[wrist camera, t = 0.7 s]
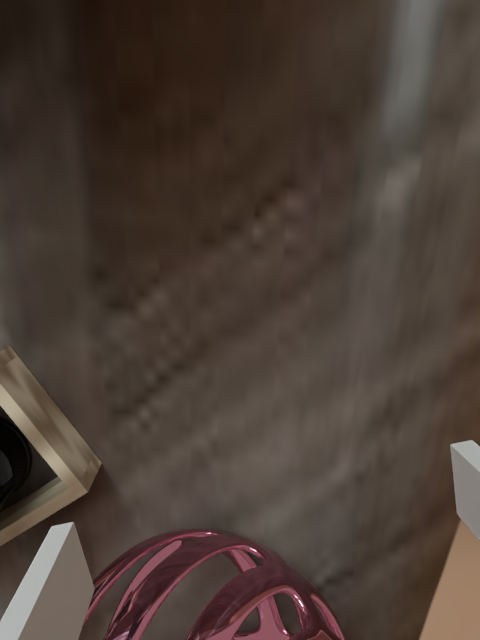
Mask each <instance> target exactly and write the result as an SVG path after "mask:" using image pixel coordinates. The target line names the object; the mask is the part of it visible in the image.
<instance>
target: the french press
mask: <svg viewBox="0 0 480 640" xmlns="http://www.w3.org/2000/svg"><path fill="white" fill-rule="evenodd" d="M0 449H1V450H2V451H3V452H4V454H5V455H6V457H7V458H8V460H9V463H10V465H11V468H12V474H13V476H12V478H11V479H10V480H9V481H8V482H7V483H6V484H4V485H3V486H1V487H0V510H1V509H2V508H3V507H4V505H5V504H6V503H7V501H8V500H9V499H10V497H11V496H12V495H13V494H14V493H15V492H16V491H18V489H19V488H20V487H21V486H22V485H23V484H24V482H25V481H26V479H27V477H28V475H29V472H30V469H31V460H32V458H31V451H30V448H29V445H28V442H27V440H26V439H25V437H24V436H23V434H22V433H21V432H20V431H19V430H18V429H17V427H15V426H14V425H13V424H11V423H10V422H9V421H7V420H5V419H3V418H1V417H0Z"/></svg>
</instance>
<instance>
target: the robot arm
mask: <svg viewBox="0 0 480 640" xmlns="http://www.w3.org/2000/svg"><path fill="white" fill-rule="evenodd" d="M450 447H451V457H452V467H453V478H454V488H455V498H456V508H457V514H458V516H459V517H460V518H461V519H462V520H463V522H464V523H465V524H466V525H467V526H468V528H469V529H470V530H471V531H472V532H473V534H474V535H475V536H476V537H477V538H478V539H479V541H480V446H478V445H477V444H476V443H475V442H474V441H473V440H470V441H465V442H460V443H455V444H450ZM94 590H95V588H94V585H93V582H92V579H91V576H90V572H89V569H88V566H87V563H86V560H85V556H84V553H83V550H82V547H81V544H80V540H79V537H78V534H77V531H76V528H75V524H74V522H70V523H65V524H60V525H55V526H51V528H50V530H49V532H48V534H47V535H46V537H45V539H44V541H43V543H42V545H41V547H40V548H39V550H38V552H37V554H36V556H35V558H34V560H33V561H32V563H31V565H30V567H29V569H28V571H27V573H26V574H25V576H24V578H23V580H22V582H21V584H20V586H19V587H18V589H17V591H16V593H15V595H14V597H13V599H12V600H11V602H10V604H9V606H8V608H7V610H6V611H5V613H4V615H3V617H2V619H1V621H0V640H78V638H79V635H80V632H81V629H82V626H83V623H84V620H85V617H86V614H87V611H88V608H89V605H90V602H91V599H92V596H93V593H94Z"/></svg>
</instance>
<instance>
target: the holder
mask: <svg viewBox="0 0 480 640" xmlns="http://www.w3.org/2000/svg"><path fill="white" fill-rule="evenodd" d="M0 406H1V407H2V408H3V409H4V410H5V412H6V413H7V414H8V415H9V417H10V418H11V419H12V420H13V422H14V423H15V424H16V425H17V426H18V428H19V429H20V430H21V431H22V433H23V434H24V435H25V436H26V437H27V439H28V440H29V441H30V442H31V444H32V445H33V446H34V447H35V448H36V450H37V451H38V452H39V453H40V455H41V456H42V457H43V458H44V459H45V461H46V462H47V463H48V464H49V466H50V467H51V468H52V469H53V470H54V472H55V473H56V474H57V475H58V477H57V478H55V479H54V480H52V481H50V482H49V483H47V484H46V485H44V486H42V487H41V488H39V489H38V490H36V491H34V492H33V493H31V494H29V495H28V496H26V497H25V498H23V499H21V500H20V501H18V502H17V503H15V504H13V505H12V506H10V507H9V508H7V509H5V510H4V511H2V512H1V513H0V546H1V545H3V544H5V543H6V542H8V541H10V540H11V539H13V538H14V537H16V536H18V535H19V534H21V533H23V532H24V531H26V530H27V529H29V528H31V527H32V526H34V525H36V524H37V523H39V522H40V521H42V520H44V519H45V518H47V517H49V516H50V515H52V514H53V513H55V512H57V511H58V510H60V509H62V508H63V507H65V506H66V505H68V504H70V503H71V502H73V501H75V500H76V499H78V498H79V497H81V496H83V495H84V494H86V493H87V492H88V491H89V489H90V487H91V485H92V483H93V481H94V479H95V476H96V474H97V472H98V470H99V468H100V466H101V464H102V463H101V461H100V460H99V459H98V457H97V456H96V455H95V454H94V452H93V451H92V450H91V449H90V447H89V446H88V445H87V443H86V442H85V441H84V440H83V438H82V437H81V436H80V435H79V433H78V432H77V431H76V429H75V428H74V427H73V426H72V424H71V423H70V422H69V421H68V419H67V418H66V417H65V415H64V414H63V413H62V412H61V410H60V409H59V408H58V407H57V405H56V404H55V403H54V401H53V400H52V399H51V398H50V396H49V395H48V394H47V392H46V391H45V390H44V389H43V387H42V386H41V385H40V384H39V382H38V381H37V380H36V378H35V377H34V376H33V375H32V373H31V372H30V371H29V370H28V368H27V367H26V366H25V364H24V363H23V362H22V361H21V359H20V358H19V357H18V356H17V354H16V353H15V352H14V350H13V349H12V348H11V347H10V346H8V347H7V348H5V349H3V350H2V351H0Z"/></svg>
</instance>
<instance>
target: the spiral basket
mask: <svg viewBox="0 0 480 640" xmlns="http://www.w3.org/2000/svg"><path fill="white" fill-rule="evenodd" d="M163 545H165V546H164V547H162V548H161V549H160V550H158V551H157V552H156V553H155V554H154V555H153V556H152V557H151V558H150V559H149V560H148V561H147V562H146V563H145V564H144V565H143V566H142V568H141V569H140V570H139V571H138V573H137V574H136V575H135V577H134V578H133V580H132V581H131V583H130V584H129V586H128V587H127V589H126V591H125V593H124V594H123V596H122V598H121V600H120V602H119V604H118V606H117V608H116V610H115V613H114V615H113V617H112V620H111V622H110V625H109V627H108V630H107V633H106V635H105V637H104V639H103V640H140V639H141V637H142V635H143V633H144V632H145V630H146V628H147V626H148V624H149V623H150V621H151V619H152V618H153V616H154V615H155V613H156V612H157V610H158V609H159V607H160V606H161V604H162V603H163V601H164V600H165V599H166V597H167V596H168V595H169V594H170V592H171V591H172V590H173V589H174V588H175V586H176V585H177V584H178V583H179V582H180V581H181V580H182V579H183V578H184V577H185V576H186V575H187V574H188V573H189V572H190V571H192V570H193V569H194V568H195V567H196V566H198V565H199V564H200V563H202V562H203V561H205V560H207V559H208V558H210V557H212V556H214V555H216V554H219V553H221V552H222V553H223V554H224V555H225V556H226V557H227V558H229V560H230V561H231V562H232V563H233V564H234V565H235V566H236V568H237V569H238V570H239V572H240V573H241V574H239V575H237V576H236V577H235V578H233V579H232V580H231V581H229V582H228V583H227V584H226V585H225V586H224V587H223V588H222V589H221V590H220V591H219V592H218V593H217V594H216V595H215V596H214V597H213V599H212V600H211V601H210V602H209V604H208V605H207V606H206V608H205V609H204V610H203V612H202V613H201V615H200V616H199V618H198V619H197V621H196V623H195V624H194V626H193V628H192V629H191V631H190V633H189V635H188V636H187V638H186V640H346V639H345V636H344V634H343V631H342V629H341V627H340V624H339V622H338V620H337V618H336V616H335V614H334V613H333V611H332V609H331V607H330V606H329V604H328V603H327V601H326V600H325V598H324V597H323V596H322V594H321V593H320V592H319V591H318V590H317V588H316V587H315V586H314V585H313V584H312V583H311V582H310V581H309V580H307V579H306V578H305V577H304V576H303V575H301V574H300V573H299V572H297V571H296V570H294V569H293V568H292V567H290V566H289V565H288V564H287V563H286V562H285V561H284V560H283V559H282V558H281V557H280V556H279V555H278V554H277V553H275V552H274V551H273V550H271V549H270V548H268V547H267V546H265V545H264V544H262V543H260V542H258V541H256V540H253V539H251V538H248V537H246V536H243V535H240V534H236V533H232V532H227V531H221V530H210V529H181V530H174V531H169V532H165V533H162V534H159V535H156V536H154V537H151V538H149V539H147V540H145V541H143V542H141V543H139V544H137V545H135V546H134V547H132V548H131V549H129V550H128V551H126V552H125V553H123V554H122V555H121V556H119V557H118V558H117V559H116V560H114V561H113V562H112V563H111V564H110V565H109V566H108V567H106V568H105V569H104V570H103V571H102V572H101V573H100V574H99V575H98V576H97V577H96V579H95V580H94V581H93V585H94V588H95V590H94V593H93V596H92V599H91V602H90V605H89V608H88V611H87V614H86V617H85V620H84V623H83V626H84V624H85V623H86V621H87V619H88V618H89V616H90V615H91V613H92V612H93V610H94V609H95V607H96V606H97V605H98V603H99V602H100V600H101V599H102V598H103V597H104V595H105V594H106V593H107V591H108V590H109V589H110V588H111V587H112V586H113V584H114V583H115V582H116V581H117V580H118V579H119V578H120V577H121V576H122V575H123V574H124V573H125V572H126V571H127V570H128V569H129V568H130V567H131V566H132V565H134V564H135V563H136V562H137V561H139V560H140V559H141V558H143V557H144V556H145V555H147V554H148V553H150V552H152V551H153V550H155V549H157V548H159V547H161V546H163ZM247 552H249V553H251V554H253V555H254V556H256V557H258V558H259V559H260V560H261V561H263V562H264V564H263V565H260V566H257V564H256V563H255V562H254V560H253V559H252V558H251V557H250V556H249V554H248V553H247ZM278 593H286V594H287V595H289V596H290V597H291V598H292V600H293V603H294V605H295V608H296V611H297V614H298V617H299V620H300V624H301V631H299V632H297V633H296V634H292V633H290V632H289V631H288V630H287V629H286V628H285V626H284V624H283V622H282V620H281V617H280V614H279V611H278V608H277V605H276V602H275V599H274V596H273V595H275V594H278ZM313 602H314V603H315V605H316V606H317V607H318V609H319V610H320V612H321V614H322V615H323V617H324V619H325V622H326V624H327V626H328V627H327V626H326V624H325V623H324V621H323V620H322V618H321V616H320V614H319V613H318V611H317V609H316V607H315V605H314V603H313ZM255 608H257V611H258V615H259V627H258V628H257V629H255V630H252V631H244V632H237V631H238V629H239V628H240V626H241V625H242V623H243V622H244V621H245V619H246V618H247V617H248V616H249V615H250V613H251V612H252V611H253V610H254V609H255ZM83 626H82V628H83Z"/></svg>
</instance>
